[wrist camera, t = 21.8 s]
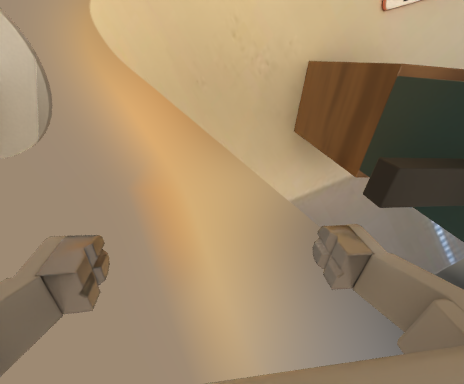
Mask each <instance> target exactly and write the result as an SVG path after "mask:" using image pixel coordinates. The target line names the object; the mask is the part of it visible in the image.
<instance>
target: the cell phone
mask: <svg viewBox="0 0 464 384" xmlns="http://www.w3.org/2000/svg"><path fill="white" fill-rule="evenodd" d="M417 1H420V0H383V10H389V9H392V8H396V7H399V6H403V5H406V4H410V3H413V2H417Z"/></svg>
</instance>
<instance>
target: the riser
mask: <svg viewBox="0 0 464 384" xmlns="http://www.w3.org/2000/svg"><path fill="white" fill-rule="evenodd" d="M397 76H406V77H418V78H430V79H443V80H455V81H464V69H454V68H443V67H432V66H421V65H410V64H391V63H356V62H321V61H309V64H308V68H307V73H306V78H305V82H304V87H303V91H302V96H301V101H300V105H299V110H298V115H297V119H296V124H295V128H294V131H295V132H296V133H297V134H299V135H300V136H301V137H303V138H304V139H305V140H307V141H308V142H309V143H311V144H312V145H313V146H315V147H316V148H317V149H319V150H320V151H321V152H323V153H324V154H325V155H327V156H328V157H329V158H331V159H332V160H333V161H335V162H336V163H337V164H339V165H340V166H341V167H343V168H344V169H345V170H347V171H348V172H349V173H351V174H352V175H353V176H355V177H368V176H367V175H365V174H364V173H363V172H361V171H360V170H359V169H360V167H361V164H362V162H363V159H364V157H365V154H366V152H367V149H368V147H369V144H370V142H371V140H372V137H373V135H374V132H375V130H376V127H377V125H378V122H379V120H380V118H381V115H382V113H383V110H384V108H385V105H386V103H387V100H388V98H389V96H390V93H391V91H392V88H393V86H394V83H395V81H396V78H397Z"/></svg>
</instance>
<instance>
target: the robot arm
mask: <svg viewBox="0 0 464 384" xmlns="http://www.w3.org/2000/svg"><path fill="white" fill-rule="evenodd" d="M318 236H319V239H317V240H316V241H315V242H314V245H313V256H314V260H315V262H316V263H317V265H318V266H320V267H321V268H322V269H324V272H323V275H324V277H325V279H326V280H327V282H328V284H329V285H330V287H331V289H332V290H333V289H350V288H353V290H354V291H355V292H356V293H358V294H359V295H360V296H361V297H362V298H364V299H365V300H366V301H367V302H369V303H370V304H371V305H372V306H373V307H375V308H376V309H377V310H378V311H379V312H381V313H382V314H383V315H384V316H386V317H387V318H388V319H389V320H390V321H392V322H393V323H394V324H395V325H397V326H398V327H399V328H400V329H401V330H403V331H404V332H405V333H404V334H403V335H402V336H401V337H400V338H399V339H398V343H397V344H398V346H399V348H400V349H401V350H402V352H403V353H404V354H403V355H396V356H389V357H382V358H376V359H369V360H362V361H356V362H349V363H341V364H335V365H328V366H321V367H314V368H308V369H301V370H295V371H288V372H280V373H273V374H267V375H260V376H253V377H247V378H240V379H233V380H226V381H219V382H212V383H206V384H464V290H463V289H461V288H459V287H457V286H455V285H453V284H451V283H449V282H447V281H445V280H443V279H441V278H439V277H437V276H435V275H434V274H432V273H430V272H428V271H426V270H424V269H422V268H420V267H418V266H416V265H414V264H412V263H410V262H408V261H406V260H404V259H402V258H400V257H398V256H396V255H394V254H392V253H391V254H388V253H387V252H386V251H385V250H384V249H383V248H382V247H381V246H380V245H379V243H378V242H377V241H376V240H375V239H374V238H373V237H372V236H371V235H370V234H369V233H368V232H367V231H366V230H365V229H364V228H363V227H362V226H360V225H358V224H352V225H336V226H322V227H321V228H320V229H319V231H318ZM103 246H104V240H103V238H102V236H99V235H85V236H51V237H49V238H47V239H45V240H44V241H43V243H42V244H41V245H40V246H39V247H38V248H37V250H36V251H35V252H34V253H33V255H32V256H31V257H30V258H29V259H28V260H27V262H26V263H25V264H24V265H23V266H22V268H21V269H20V270H19V271H18V272H17V273H16V275H15V276H14V277H13V278H6V279H5V280H3V281H1V282H0V377H1V376H2V375H3V374H4V373H5V372H6V371H7V370H8V369H9V368H10V367H11V366H12V365H13V364H14V363H15V362H16V361H17V360H18V359H19V358H20V357H21V356H22V355H23V354H24V353H25V352H26V351H27V350H28V349H29V348H30V347H32V346H33V344H35V343H36V342H37V341H38V340H39V339H40V337H42V336H43V335H44V334H45V333H46V332H47V331H48V330H49V329H50V328H51V327H52V326H53V325H54V324H55V323H56V322H57V321H58V320H59V319H60V318H61V317H62V316H63V315H62V314H69V313H79V312H87V311H93V309H94V306H95V304H96V302H97V299H98V297H99V294H100V289H99V285H100V284H101V283H102V282H104V281H105V280H106V277H107V275H108V271H109V265H110V263H109V256H108V253H107V252H106V251H104V250H103V249H102V248H103Z"/></svg>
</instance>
